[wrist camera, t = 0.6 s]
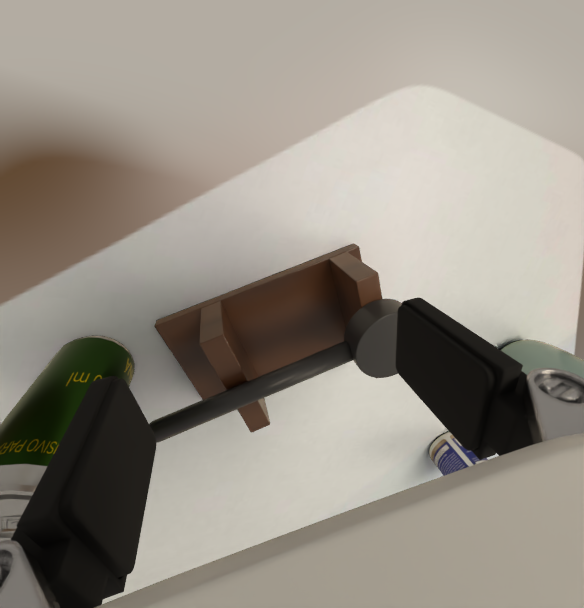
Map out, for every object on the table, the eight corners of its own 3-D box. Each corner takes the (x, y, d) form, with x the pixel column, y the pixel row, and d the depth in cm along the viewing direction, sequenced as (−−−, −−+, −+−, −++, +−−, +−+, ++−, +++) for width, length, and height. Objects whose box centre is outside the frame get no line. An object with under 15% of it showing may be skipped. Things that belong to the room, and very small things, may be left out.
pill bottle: (432, 463, 43) (488, 541, 34) (423, 443, 40) (482, 523, 31) (466, 443, 43) (531, 516, 34) (459, 422, 40) (529, 495, 31)
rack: (156, 319, 23) (140, 367, 18) (353, 243, 24) (393, 266, 19) (205, 396, 27) (205, 452, 22) (370, 328, 29) (406, 365, 23)
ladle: (127, 400, 18) (119, 426, 17) (405, 287, 20) (424, 299, 18) (168, 448, 21) (164, 474, 19) (412, 344, 22) (429, 360, 21)
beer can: (55, 383, 23) (-73, 569, 13) (61, 325, 21) (-81, 486, 11) (130, 391, 25) (74, 557, 15) (142, 339, 23) (88, 486, 13)
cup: (526, 371, 38) (619, 433, 30) (475, 389, 37) (556, 459, 29) (540, 322, 35) (651, 376, 26) (484, 340, 34) (580, 404, 25)
